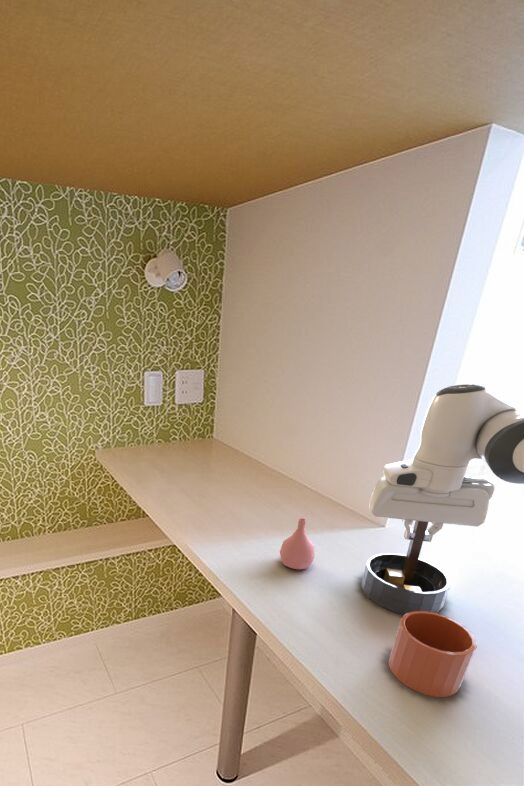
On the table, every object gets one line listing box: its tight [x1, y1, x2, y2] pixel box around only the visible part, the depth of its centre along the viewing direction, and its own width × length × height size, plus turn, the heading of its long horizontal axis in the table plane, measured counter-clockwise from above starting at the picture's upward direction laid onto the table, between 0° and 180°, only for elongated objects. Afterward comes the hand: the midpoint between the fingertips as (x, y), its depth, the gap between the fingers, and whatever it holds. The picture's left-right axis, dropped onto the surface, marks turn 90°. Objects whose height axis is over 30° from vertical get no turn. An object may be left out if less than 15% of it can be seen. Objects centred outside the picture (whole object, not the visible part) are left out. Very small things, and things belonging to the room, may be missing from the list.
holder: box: [388, 611, 478, 698], centre depth 68 cm, size 10×10×9 cm
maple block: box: [384, 568, 405, 588], centre depth 92 cm, size 3×3×3 cm
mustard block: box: [403, 585, 422, 592], centre depth 86 cm, size 3×3×3 cm
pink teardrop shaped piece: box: [279, 517, 316, 570], centre depth 98 cm, size 8×8×12 cm
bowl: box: [360, 552, 451, 615], centre depth 89 cm, size 15×15×6 cm
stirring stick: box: [402, 521, 429, 581], centre depth 88 cm, size 2×2×18 cm
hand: (416, 539), depth 88 cm, fingers closed on stirring stick, 2 cm apart
